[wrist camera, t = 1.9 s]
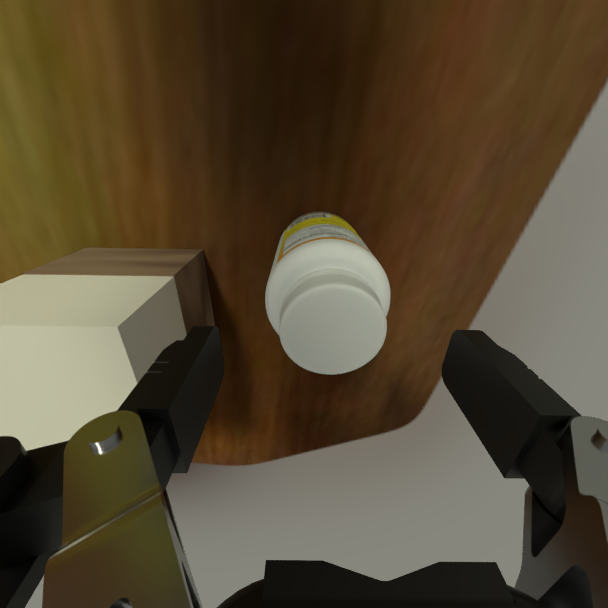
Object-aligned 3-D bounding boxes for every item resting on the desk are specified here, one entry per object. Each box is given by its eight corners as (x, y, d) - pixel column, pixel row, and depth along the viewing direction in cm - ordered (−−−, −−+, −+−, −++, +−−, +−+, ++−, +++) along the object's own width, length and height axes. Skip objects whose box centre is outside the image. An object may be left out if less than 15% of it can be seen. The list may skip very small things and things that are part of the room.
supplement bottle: (326, 301, 21) (343, 410, 12) (263, 260, 19) (227, 350, 10) (376, 241, 19) (444, 318, 10) (309, 190, 17) (316, 226, 8)
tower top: (23, 274, 15) (-100, 324, 10) (173, 276, 15) (117, 327, 10) (78, 386, 18) (6, 459, 14) (198, 388, 18) (164, 460, 14)
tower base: (87, 247, 19) (21, 273, 15) (203, 248, 19) (173, 275, 15) (121, 342, 23) (77, 386, 18) (218, 343, 23) (197, 387, 18)
